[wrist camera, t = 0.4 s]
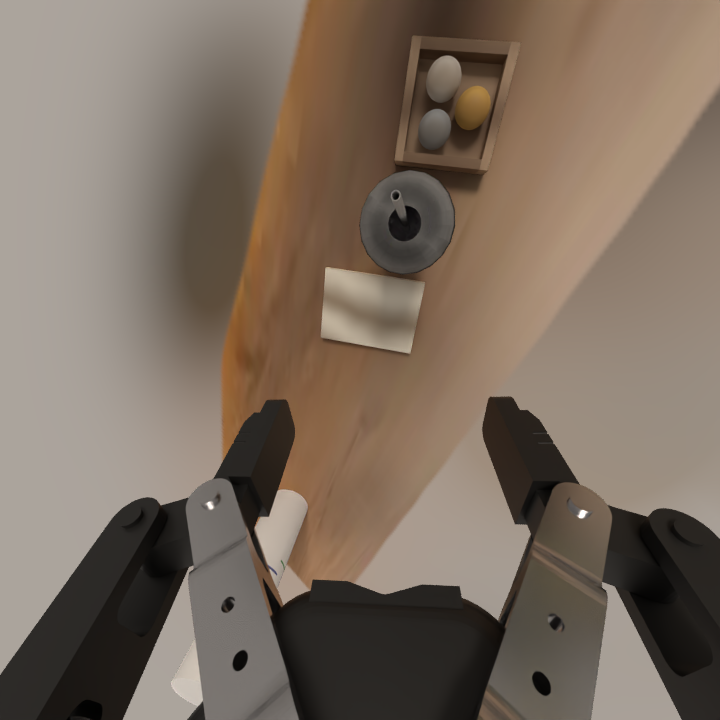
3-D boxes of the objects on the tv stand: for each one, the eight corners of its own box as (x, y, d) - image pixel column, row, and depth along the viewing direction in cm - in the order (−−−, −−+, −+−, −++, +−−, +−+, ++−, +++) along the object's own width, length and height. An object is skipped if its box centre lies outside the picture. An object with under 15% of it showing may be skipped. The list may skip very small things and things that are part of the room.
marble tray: (412, 50, 27) (412, 24, 24) (513, 56, 26) (527, 31, 23) (395, 165, 30) (393, 156, 27) (483, 174, 30) (491, 167, 26)
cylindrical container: (292, 484, 52) (198, 675, 30) (315, 511, 54) (243, 711, 31) (264, 496, 55) (158, 680, 32) (287, 521, 56) (202, 712, 34)
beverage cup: (386, 270, 35) (355, 308, 17) (368, 205, 32) (311, 168, 14) (448, 251, 33) (488, 272, 15) (434, 180, 30) (464, 102, 12)
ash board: (327, 267, 36) (325, 267, 35) (424, 281, 35) (425, 283, 34) (322, 335, 40) (320, 337, 39) (410, 350, 38) (410, 353, 37)
